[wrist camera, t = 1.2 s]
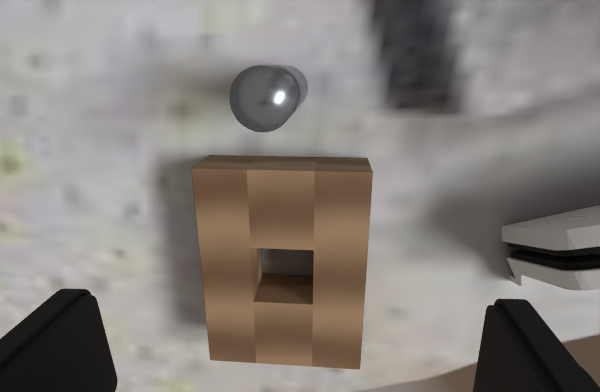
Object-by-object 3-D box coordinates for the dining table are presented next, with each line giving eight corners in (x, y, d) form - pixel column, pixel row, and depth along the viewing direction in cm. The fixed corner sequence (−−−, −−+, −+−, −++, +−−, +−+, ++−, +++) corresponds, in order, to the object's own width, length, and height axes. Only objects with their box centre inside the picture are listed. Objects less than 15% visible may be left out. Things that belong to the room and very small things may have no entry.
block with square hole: (210, 155, 29) (191, 168, 25) (367, 158, 28) (372, 172, 24) (223, 327, 34) (210, 360, 30) (356, 335, 33) (359, 369, 29)
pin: (265, 65, 26) (227, 65, 17) (307, 65, 26) (293, 65, 17) (266, 109, 27) (231, 131, 18) (307, 109, 27) (293, 132, 18)
